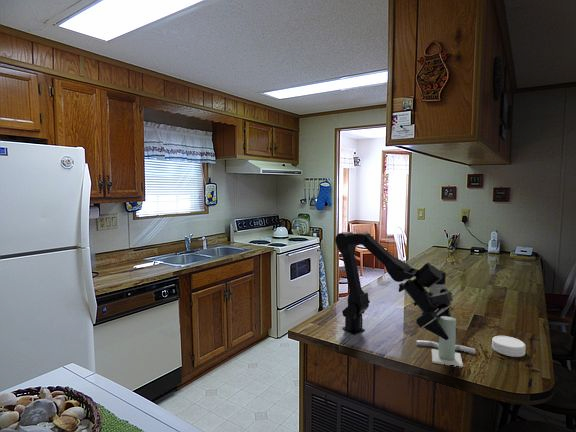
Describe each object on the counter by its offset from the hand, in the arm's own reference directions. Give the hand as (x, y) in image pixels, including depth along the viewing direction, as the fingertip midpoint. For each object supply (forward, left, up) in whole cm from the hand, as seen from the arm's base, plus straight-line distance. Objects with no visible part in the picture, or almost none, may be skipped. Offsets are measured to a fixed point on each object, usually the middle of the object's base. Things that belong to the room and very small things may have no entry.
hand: (452, 334), depth 115 cm
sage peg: (0, +1, -8) cm, 8 cm away
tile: (0, +1, -9) cm, 9 cm away
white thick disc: (+24, -7, -9) cm, 26 cm away
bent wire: (+6, +6, -9) cm, 12 cm away
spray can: (+32, +27, -9) cm, 43 cm away
